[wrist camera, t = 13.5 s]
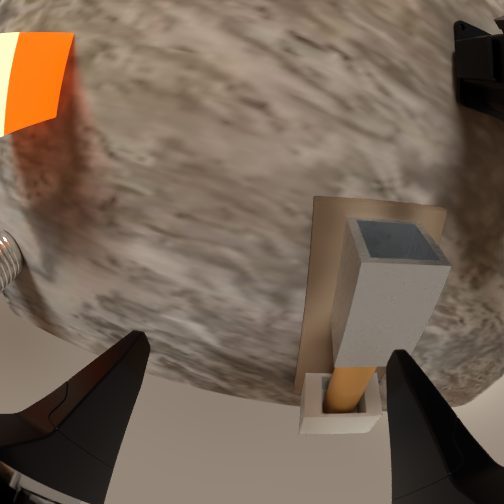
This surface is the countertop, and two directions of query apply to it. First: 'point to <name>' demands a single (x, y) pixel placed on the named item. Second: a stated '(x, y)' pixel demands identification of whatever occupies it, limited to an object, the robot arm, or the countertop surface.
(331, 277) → the walnut board
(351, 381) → the orange tube
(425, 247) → the steel sleeve
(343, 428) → the white socket
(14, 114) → the orange juice
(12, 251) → the water bottle
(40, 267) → the countertop surface
